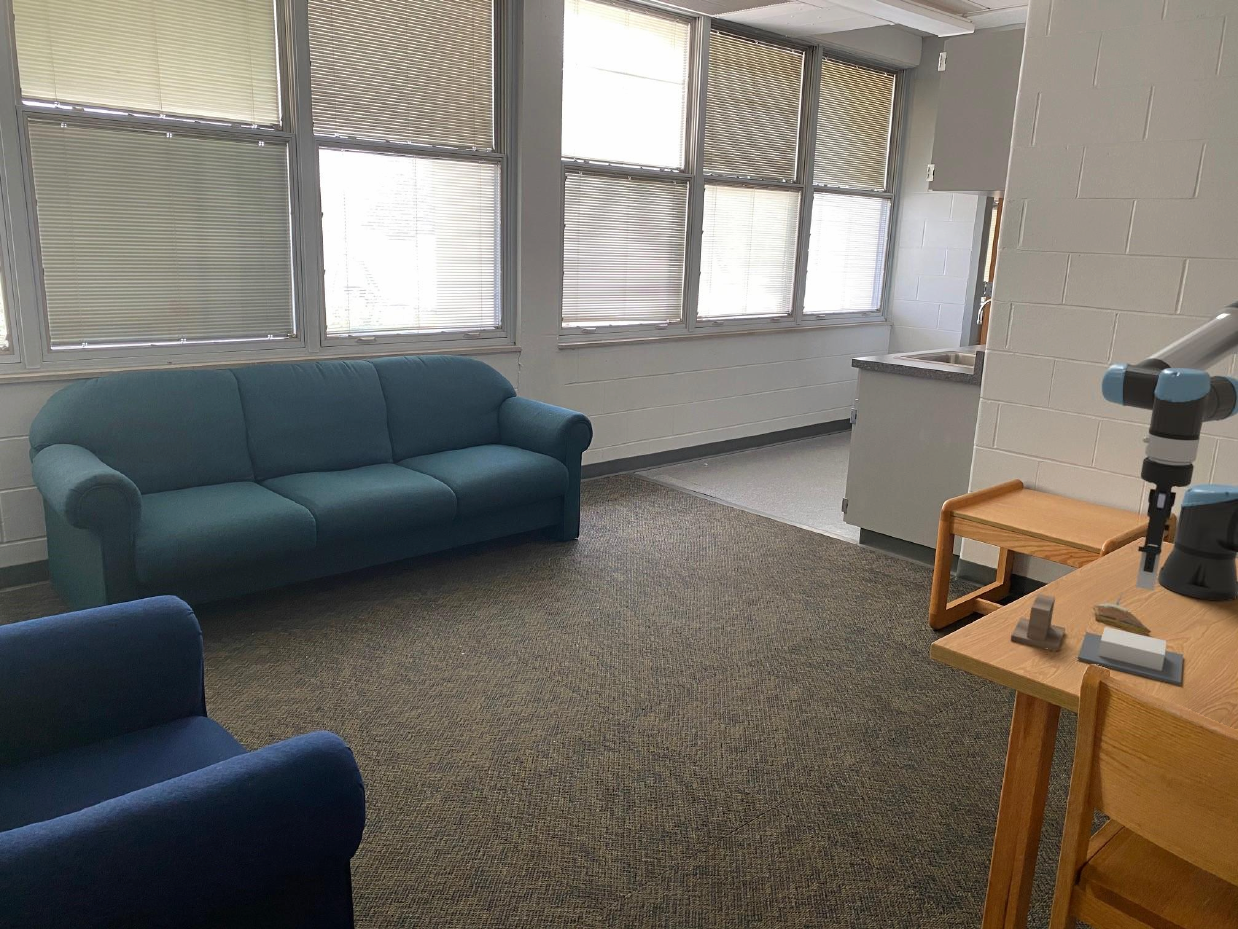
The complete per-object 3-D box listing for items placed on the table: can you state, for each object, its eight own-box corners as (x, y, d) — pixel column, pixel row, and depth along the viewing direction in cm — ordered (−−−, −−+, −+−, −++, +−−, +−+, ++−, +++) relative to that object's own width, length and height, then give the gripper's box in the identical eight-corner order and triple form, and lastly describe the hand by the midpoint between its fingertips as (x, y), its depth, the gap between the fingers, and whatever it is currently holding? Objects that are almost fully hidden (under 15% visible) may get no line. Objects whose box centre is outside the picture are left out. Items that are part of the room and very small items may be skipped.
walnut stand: (1020, 622, 182) (1025, 589, 180) (1064, 632, 178) (1070, 598, 176) (1010, 640, 173) (1016, 605, 172) (1057, 651, 169) (1063, 616, 168)
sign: (1136, 595, 198) (1125, 615, 186) (1135, 598, 198) (1125, 619, 186) (1109, 588, 201) (1097, 608, 189) (1109, 592, 201) (1096, 612, 189)
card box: (1163, 656, 168) (1166, 641, 167) (1161, 670, 162) (1164, 655, 161) (1102, 641, 173) (1104, 626, 172) (1098, 655, 167) (1100, 640, 166)
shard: (1150, 638, 177) (1151, 629, 177) (1108, 635, 178) (1110, 627, 178) (1125, 615, 188) (1126, 607, 187) (1086, 612, 188) (1087, 604, 188)
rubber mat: (1077, 660, 166) (1077, 657, 166) (1085, 634, 177) (1086, 632, 177) (1180, 685, 158) (1180, 682, 158) (1182, 657, 169) (1183, 654, 169)
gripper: (1148, 442, 170) (1129, 551, 176) (1138, 471, 150) (1117, 593, 155) (1196, 448, 167) (1174, 559, 172) (1192, 479, 146) (1168, 604, 152)
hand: (1147, 576), depth 164 cm, fingers open, 13 cm apart
